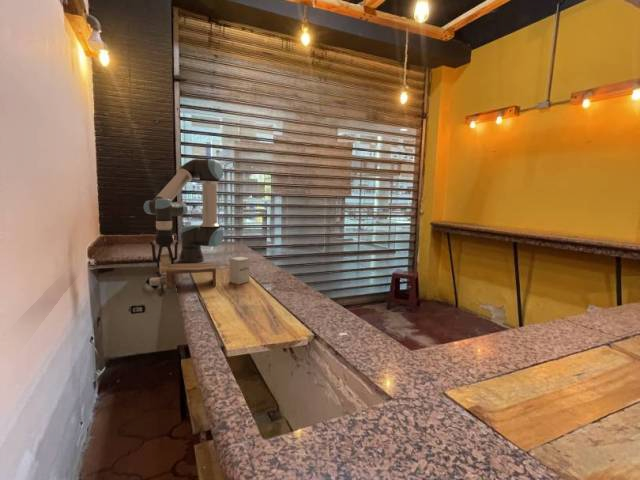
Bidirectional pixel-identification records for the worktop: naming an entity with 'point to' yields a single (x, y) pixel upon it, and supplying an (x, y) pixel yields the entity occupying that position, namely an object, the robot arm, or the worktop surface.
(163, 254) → the tan wood-grain block
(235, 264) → the grey canister
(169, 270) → the brown wooden stand
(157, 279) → the brown square block
